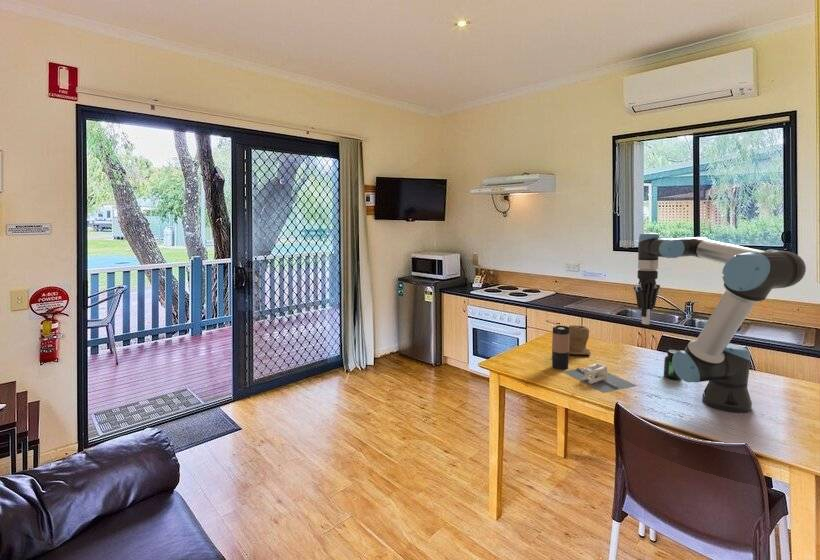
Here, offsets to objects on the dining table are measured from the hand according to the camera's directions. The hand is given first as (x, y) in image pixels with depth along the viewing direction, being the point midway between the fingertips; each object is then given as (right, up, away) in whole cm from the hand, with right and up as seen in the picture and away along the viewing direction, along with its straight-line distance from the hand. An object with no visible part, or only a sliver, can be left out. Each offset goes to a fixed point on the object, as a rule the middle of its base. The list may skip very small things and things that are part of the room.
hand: (645, 323), depth 185 cm
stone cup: (-15, -20, +41) cm, 48 cm away
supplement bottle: (+15, -24, +5) cm, 29 cm away
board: (-18, -25, +5) cm, 32 cm away
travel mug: (-30, -24, +20) cm, 43 cm away
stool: (-17, -21, +3) cm, 27 cm away
